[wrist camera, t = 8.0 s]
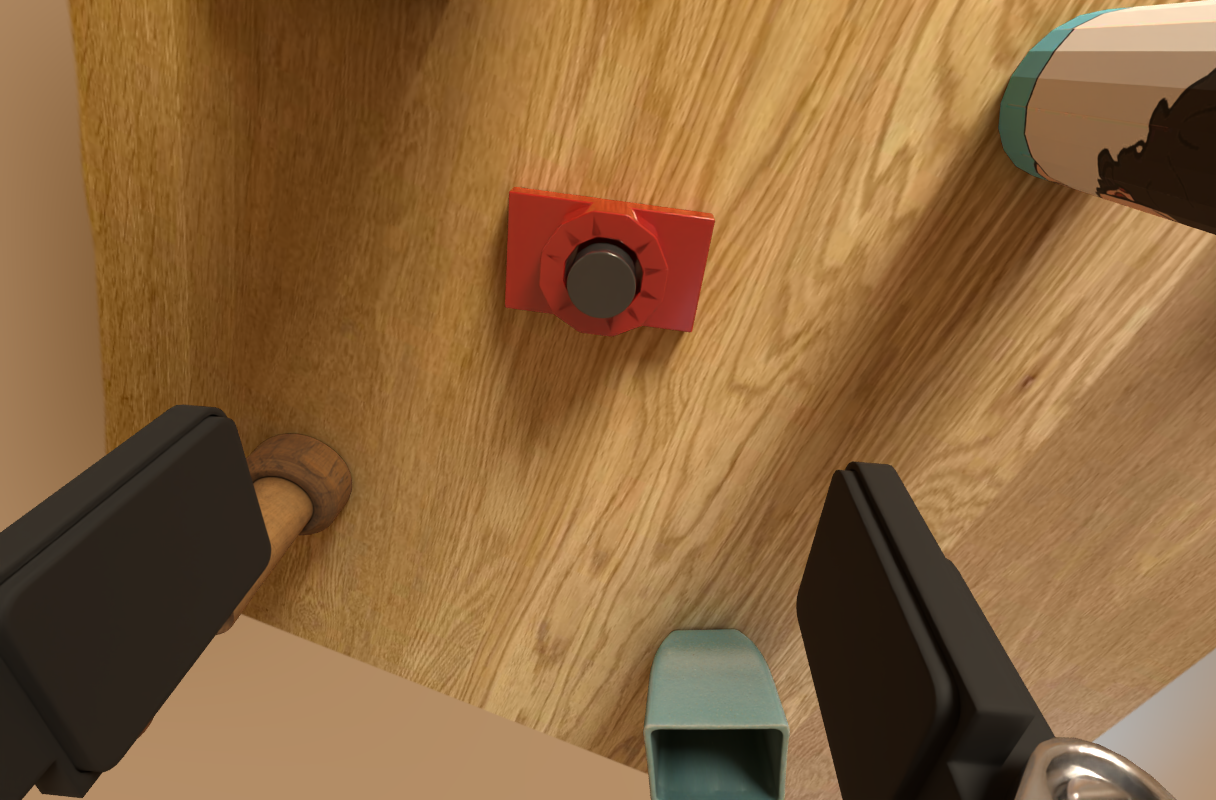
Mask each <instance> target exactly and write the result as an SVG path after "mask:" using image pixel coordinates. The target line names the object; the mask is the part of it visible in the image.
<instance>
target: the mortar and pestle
mask: <svg viewBox="0 0 1216 800" xmlns="http://www.w3.org/2000/svg"><path fill="white" fill-rule="evenodd" d="M246 461H247V464H248V468H249V471H250V475H251V478H252V481H253V485H254V488H255V492H256V495H257V498H258V502H259V505H260V509H261V512H262V516H263V519H264V522H265V526H266V529H267V533H268V536H269V539H270V543H271V548H272V550H271V558H270V561H269V563H268V566H267V567H266V569H265V570H264V572H263V573H262V574H261V576H260V577H259V578H258V580H257V581H256V582H255V584H254V585H253V586H252V588H251V589H250V590H249V592H248V593H247V594H246V596H245V597H244V598H243V600H242V601H241V602H240V603H239V605H238V606H237V607H236V609H235V610H234V611H233V613H232V614H231V615H230V617H229V618H228V619H227V621H226V622H225V623H224V625H223V626H222V627H221V629H220V630H219V631H218V633H217V634H216V635H218V634H221V633H224V632H226V631H227V630H229V629H230V628H231V627H232V625H233V624H234V623H235V621H236V620H237V619H238V617H239V616H240V614H241V613H242V612H243V610H244V609H245V607H246V606H247V604H248V603H249V602H250V600H251V599H252V597H253V596H254V595H255V593H256V592H257V590H258V589H259V588H260V586H261V585H262V584H263V582H264V581H265V579H266V578H267V577H268V575H269V574H270V573H271V571H272V570H273V568H274V567H275V566H276V564H277V563H278V562H279V560H280V559H281V557H282V556H283V555H284V553H285V552H286V551H287V549H288V548H289V547H290V545H291V544H292V543H293V541H294V540H295V539H296V537H297V536H298V535H310V534H314V533H318V532H320V531H322V530H324V529H326V528H327V527H328V526H329V525H330V524H331V523H332V522H333V521H334V520H335V518H336V517H337V515H338V514H339V512H340V511H341V510H342V508H343V507H344V505H345V504H346V502H347V501H348V499H349V497H350V494H351V490H352V479H351V475H350V472H349V469H348V467H347V465H346V464H345V462H344V461H343V460H342V458H341V457H340V456H339V455H338V454H337V453H336V452H335V451H334V450H333V449H331V448H330V447H329V446H327V445H325V444H324V443H322V442H321V441H319V440H316V439H314V438H312V437H309V436H305V435H300V434H282V435H277V436H274V437H271V438H269V439H267V440H266V441H264V442H263V443H261V444H260V445H259V446H258V447H257V448H256V449H255V450H254V451H253V452H252V453H251V454H250V455H249V456H248V457H247V458H246ZM153 718H154V717H153ZM153 718H152V720H153ZM152 720H151V721H150V722H149V724H148V725H147V726H146V728H145V729H144V730H143V732H142V733H141V734H140V736H141V735H142V734H143V733H144V732H145V730H146V729H147V728H148V726H149V725H150V723H151V722H152ZM140 736H139V737H140ZM139 737H138V738H139Z"/></svg>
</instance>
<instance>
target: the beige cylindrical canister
mask: <svg viewBox="0 0 1216 800" xmlns="http://www.w3.org/2000/svg"><path fill="white" fill-rule="evenodd" d="M998 129H999V133H1000V137H1001V141H1002V145H1003V149H1004V151H1005V152H1006V154H1007V155H1008V156H1009V158H1010V159H1011V160H1012V162H1013V163H1014V164H1015V166H1017V167H1018V168H1020V169H1022V170H1024V171H1026V172H1027V173H1029V174H1031V175H1033V176H1035V177H1038V178H1041V179H1044V180H1047V181H1051V182H1054V183H1057V184H1060V185H1063V186H1066V187H1069V188H1072V189H1075V190H1078V191H1082V192H1085V193H1088V194H1091V195H1094V196H1097V197H1100V198H1103V199H1106V200H1110V201H1113V202H1116V203H1119V204H1122V205H1125V206H1128V207H1131V208H1134V209H1137V210H1141V211H1144V212H1147V213H1150V214H1153V215H1156V216H1159V217H1162V218H1165V219H1168V220H1172V221H1175V222H1178V223H1181V224H1184V225H1187V226H1190V227H1193V228H1196V229H1200V230H1203V231H1206V232H1209V233H1212V234H1215V235H1216V0H1207V1H1196V2H1185V3H1174V4H1163V5H1152V6H1141V7H1130V8H1118V9H1107V10H1103V11H1098V12H1094V13H1089V14H1084V15H1080V16H1078V17H1076V18H1074V19H1072V20H1070V21H1069V22H1067V23H1065V24H1063V25H1061V26H1059V27H1057V28H1055V29H1054V30H1052V31H1051V32H1050V33H1049V34H1048V35H1046V36H1045V37H1044V38H1043V39H1042V40H1041V41H1040V42H1039V43H1038V44H1036V45H1035V46H1034V47H1033V48H1032V49H1031V50H1030V51H1029V52H1028V53H1027V55H1026V56H1025V58H1024V59H1023V60H1022V62H1021V63H1020V65H1019V66H1018V67H1017V69H1016V70H1015V72H1014V73H1013V75H1012V76H1011V78H1010V81H1009V83H1008V86H1007V88H1006V91H1005V94H1004V96H1003V99H1002V101H1001V106H1000V116H999V126H998Z"/></svg>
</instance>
